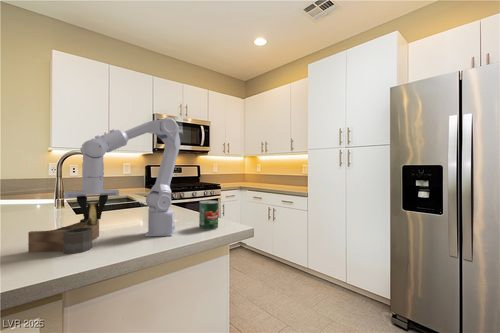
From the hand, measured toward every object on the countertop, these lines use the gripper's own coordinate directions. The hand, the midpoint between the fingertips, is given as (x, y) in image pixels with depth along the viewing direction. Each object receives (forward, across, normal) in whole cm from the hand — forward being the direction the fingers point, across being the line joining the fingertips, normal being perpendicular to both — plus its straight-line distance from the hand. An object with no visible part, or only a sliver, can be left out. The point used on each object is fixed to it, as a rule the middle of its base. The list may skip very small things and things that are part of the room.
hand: (92, 219), depth 77 cm
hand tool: (+9, +7, -21) cm, 24 cm away
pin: (+2, 0, 0) cm, 2 cm away
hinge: (+9, +6, -6) cm, 12 cm away
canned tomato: (+9, -41, -3) cm, 42 cm away
